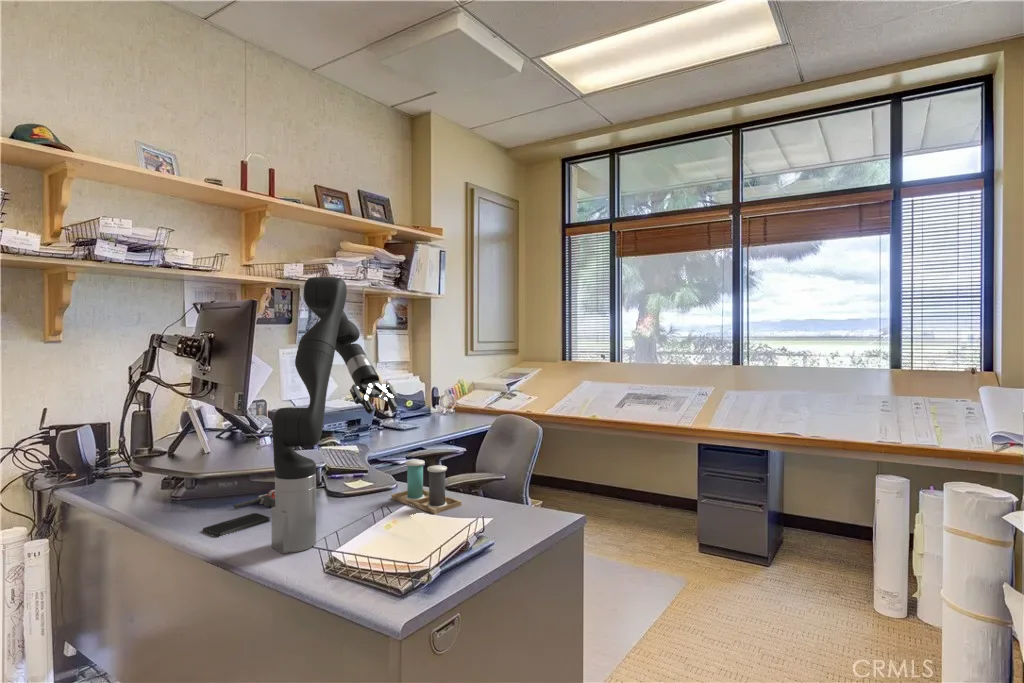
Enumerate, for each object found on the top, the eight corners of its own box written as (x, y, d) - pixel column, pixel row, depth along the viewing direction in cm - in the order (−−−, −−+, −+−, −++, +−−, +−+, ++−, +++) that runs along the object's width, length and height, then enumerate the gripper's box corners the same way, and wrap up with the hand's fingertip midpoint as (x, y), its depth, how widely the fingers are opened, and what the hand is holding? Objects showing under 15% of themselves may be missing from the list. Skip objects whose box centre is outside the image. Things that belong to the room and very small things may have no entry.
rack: (461, 510, 163) (461, 501, 162) (434, 519, 155) (434, 509, 155) (417, 496, 176) (417, 487, 176) (391, 503, 169) (391, 494, 168)
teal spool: (413, 502, 165) (413, 465, 165) (401, 498, 169) (401, 461, 169) (428, 498, 169) (428, 461, 169) (416, 494, 173) (416, 458, 173)
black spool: (435, 510, 158) (436, 471, 158) (423, 505, 162) (423, 467, 162) (450, 505, 162) (451, 467, 162) (438, 501, 166) (438, 464, 166)
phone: (272, 518, 153) (217, 534, 141) (272, 522, 153) (217, 539, 141) (255, 512, 157) (200, 528, 145) (255, 516, 157) (200, 532, 145)
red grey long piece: (294, 494, 179) (231, 510, 163) (294, 480, 179) (231, 495, 163) (310, 499, 174) (247, 516, 157) (310, 485, 173) (247, 501, 157)
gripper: (347, 364, 174) (368, 405, 166) (386, 363, 185) (407, 401, 177) (338, 381, 178) (358, 421, 170) (376, 378, 188) (397, 416, 181)
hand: (383, 411), depth 174 cm, fingers open, 8 cm apart
